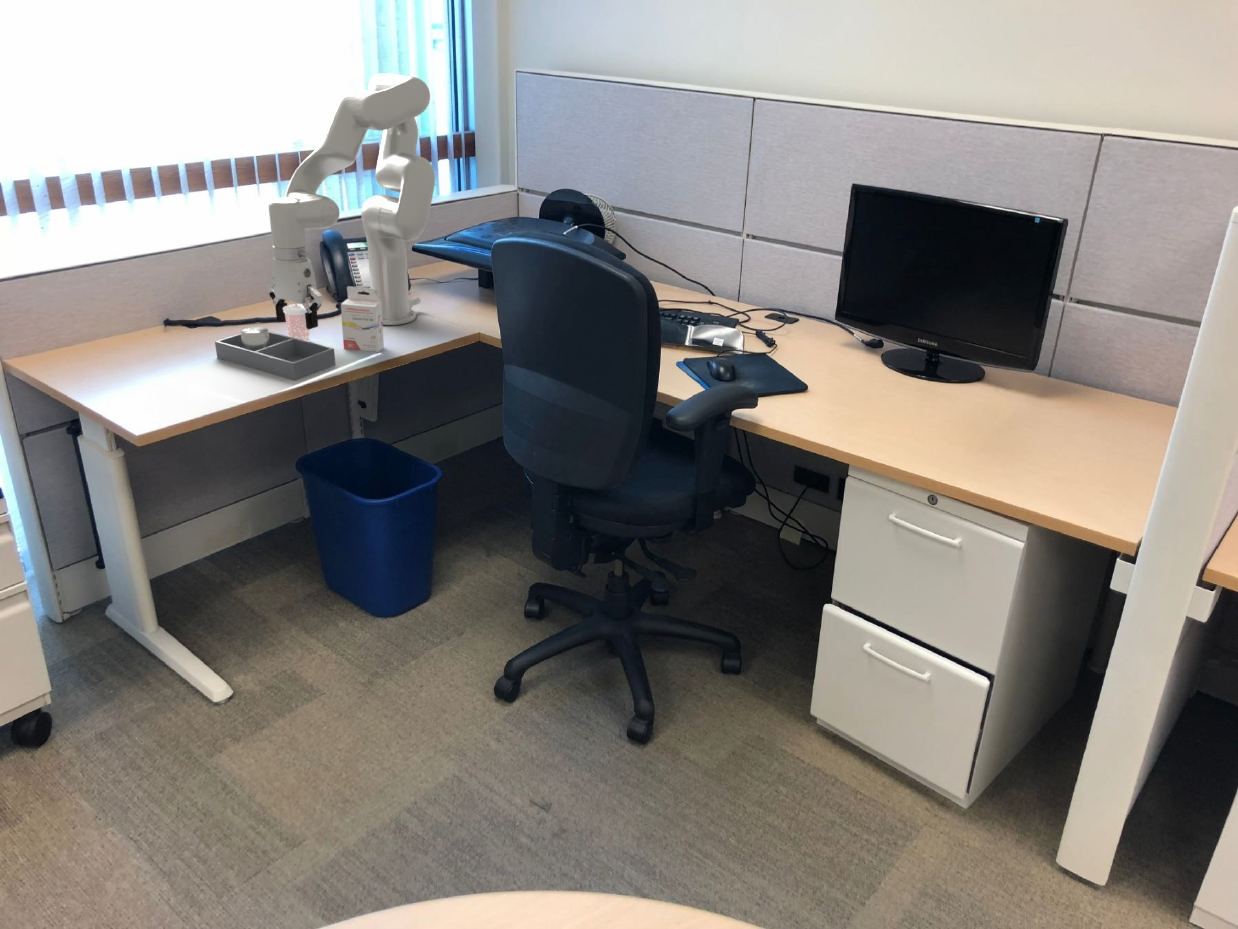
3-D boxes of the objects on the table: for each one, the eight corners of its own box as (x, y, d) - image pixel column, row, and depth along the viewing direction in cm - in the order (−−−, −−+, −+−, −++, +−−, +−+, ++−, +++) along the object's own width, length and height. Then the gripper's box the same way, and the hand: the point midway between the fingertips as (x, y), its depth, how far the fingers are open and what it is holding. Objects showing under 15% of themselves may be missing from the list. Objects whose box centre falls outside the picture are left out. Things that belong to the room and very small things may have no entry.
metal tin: (258, 349, 234) (255, 325, 231) (276, 354, 231) (273, 330, 229) (238, 356, 229) (234, 331, 227) (256, 362, 227) (253, 336, 224)
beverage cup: (318, 342, 242) (313, 286, 236) (299, 349, 237) (293, 292, 231) (300, 337, 245) (294, 282, 239) (281, 344, 240) (274, 287, 234)
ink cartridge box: (343, 351, 237) (338, 291, 231) (350, 344, 242) (345, 285, 235) (378, 354, 237) (374, 293, 230) (384, 347, 241) (381, 287, 235)
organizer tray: (259, 346, 238) (256, 327, 236) (335, 367, 228) (334, 348, 226) (217, 360, 229) (214, 341, 227) (295, 383, 218) (293, 363, 216)
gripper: (329, 255, 230) (335, 327, 238) (276, 244, 238) (283, 313, 245) (305, 262, 225) (312, 334, 232) (251, 250, 232) (259, 320, 239)
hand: (297, 323), depth 239 cm, fingers open, 9 cm apart
